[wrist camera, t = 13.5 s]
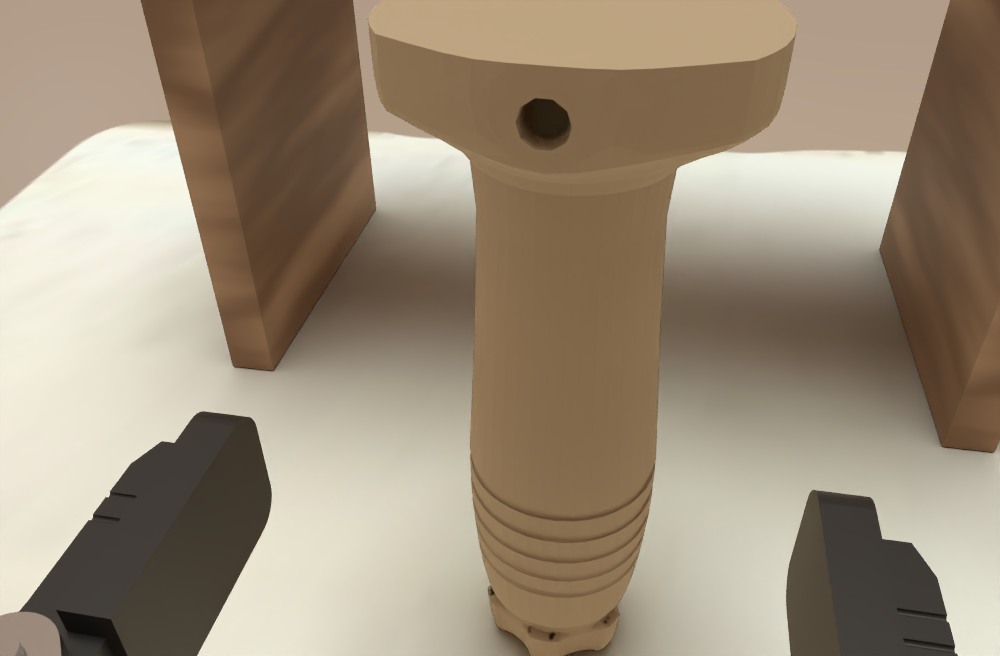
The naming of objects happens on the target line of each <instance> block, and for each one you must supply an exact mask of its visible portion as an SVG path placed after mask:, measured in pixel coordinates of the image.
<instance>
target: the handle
mask: <svg viewBox="0 0 1000 656" xmlns="http://www.w3.org/2000/svg"><path fill="white" fill-rule="evenodd" d="M368 25H369V34H370V43H371V53H372V62H373V70H374V77H375V81H376V86H377V90H378V95H379V98H380V100H381V103H382V104H383V106H384V108H385V109H386V111H388V112H390V113H392V114H394V115H395V116H397V117H399V118H401V119H403V120H404V121H406V122H408V123H410V124H411V125H413V126H415V127H417V128H418V129H420V130H422V131H424V132H426V133H429V134H431V135H433V136H435V137H437V138H439V139H441V140H443V141H444V142H446V143H448V144H449V145H451V146H453V147H455V148H456V149H458V150H460V151H461V152H463V153H464V154H465V155H466V156H467V158H468V159H469V160H470V164H471V171H472V179H473V186H474V194H475V201H476V209H477V210H476V281H475V335H474V360H473V386H472V411H471V437H470V450H471V455H470V460H471V474H472V475H471V482H472V494H473V504H474V511H475V518H476V525H477V531H478V537H479V543H480V548H481V553H482V557H483V561H484V565H485V568H486V572H487V575H488V578H489V581H490V584H491V586H489V587H488V594H489V599H490V605H491V610H492V613H493V616H494V618H495V621H496V624H497V626H498V627H499V628H501V629H502V630H506V631H508V632H510V633H512V634H514V635H515V636H517V637H518V638H519V639H520V640H521V641H522V642H523V643H524V644H525V645H526V647H527V648H528V650H529V654H530V656H565V655H567V654H570V653H573V652H576V651H582V650H596V651H598V650H601V649H603V648H604V647H605V646H606V645H607V644H608V643H609V642H610V640H611V639H612V637H613V635H614V633H615V630H616V627H617V623H618V619H619V613H618V611H617V606H618V603H619V601H620V600H621V598H622V596H623V594H624V593H625V591H626V588H627V586H628V584H629V581H630V579H631V576H632V574H633V571H634V568H635V564H636V561H637V558H638V555H639V551H640V548H641V543H642V540H643V535H644V531H645V526H646V523H647V518H648V514H649V506H650V502H651V495H652V484H653V478H654V470H655V459H656V438H657V409H658V379H659V350H660V323H661V306H662V290H663V273H664V256H665V240H666V223H667V213H668V208H669V204H670V199H671V194H672V189H673V185H674V180H675V175H676V170H677V168H679V167H680V166H682V165H685V164H687V163H690V162H693V161H695V160H698V159H700V158H703V157H707V156H710V155H713V154H716V153H720V152H723V151H726V150H728V149H730V148H732V147H735V146H737V145H739V144H741V143H743V142H745V141H746V140H748V139H750V138H751V137H753V136H754V135H756V134H758V133H759V132H761V131H762V130H764V129H765V128H767V127H768V126H769V125H770V123H771V122H772V121H773V119H774V118H775V116H776V115H777V113H778V111H779V108H780V105H781V102H782V98H783V95H784V90H785V86H786V81H787V76H788V71H789V66H790V62H791V56H792V51H793V45H794V40H795V35H796V29H797V24H796V20H795V17H794V15H793V13H792V12H791V11H790V10H789V9H788V8H787V7H786V6H785V5H783V4H782V3H780V2H778V1H777V0H381V1H380V2H379V3H378V4H377V5H376V6H375V7H374V8H373V9H372V11H371V13H370V15H369V17H368Z"/></svg>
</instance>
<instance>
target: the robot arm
mask: <svg viewBox="0 0 1000 656" xmlns="http://www.w3.org/2000/svg"><path fill="white" fill-rule="evenodd" d="M271 497H272V493H271V485H270V481H269V477H268V473H267V469H266V464H265V460H264V456H263V452H262V448H261V444H260V440H259V435H258V431H257V427H256V424H255V422H254V421H253V419H251V418H250V417H243V416H235V415H227V414H219V413H211V412H199V413H198V414H196V415H195V416H194V417H193V418H192V419H191V421H190V422H189V424H188V425H187V426H186V428H185V429H184V431H183V432H182V433H181V435H180V436H179V438H178V439H177V440H176V442H175V443H170V442H163V441H162V442H160V443H159V444H157V445H156V446H155V447H153V448H152V449H151V450H149V451H148V452H147V453H145V454H144V455H142V456H141V457H140V458H138V459H137V460H136V461H134V462H133V463H131V464H130V466H129V467H128V468H127V470H126V471H125V472H124V474H123V475H122V476H121V478H120V479H119V480H118V482H117V483H116V484H115V486H114V487H113V488H112V490H111V491H110V496H109V498H108V497H106V498H105V499H104V500H103V502H102V503H101V504H100V506H99V507H98V508H97V510H96V511H95V512H94V514H93V519H92V520H88V522H87V523H86V524H85V526H84V527H83V528H82V530H81V531H80V532H79V534H78V535H77V536H76V538H75V539H74V540H73V542H72V543H71V544H70V546H69V547H68V548H67V550H66V551H65V552H64V554H63V555H62V556H61V558H60V559H59V560H58V562H57V563H56V564H55V566H54V567H53V568H52V570H51V571H50V572H49V574H48V575H47V576H46V578H45V579H44V580H43V582H42V583H41V584H40V586H39V587H38V588H37V590H36V591H35V592H34V594H33V595H32V596H31V598H30V599H29V600H28V602H27V603H26V604H25V605H24V606H23V608H22V609H21V610H20V611H19V612H15V613H9V614H5V615H1V616H0V656H197V655H198V653H199V651H200V649H201V647H202V645H203V643H204V641H205V640H206V638H207V636H208V634H209V632H210V630H211V628H212V626H213V624H214V623H215V621H216V619H217V617H218V615H219V613H220V611H221V609H222V608H223V606H224V604H225V602H226V600H227V598H228V596H229V594H230V592H231V591H232V589H233V587H234V585H235V583H236V581H237V579H238V577H239V575H240V574H241V572H242V570H243V568H244V566H245V564H246V562H247V560H248V559H249V557H250V555H251V553H252V551H253V549H254V547H255V545H256V543H257V542H258V540H259V538H260V536H261V534H262V532H263V530H264V528H265V526H266V523H267V520H268V517H269V513H270V508H271ZM786 606H787V618H788V630H789V641H790V652H791V656H958V655H957V654H955V651H954V648H955V644H954V640H953V636H952V632H951V629H950V625H949V622H947V621H946V617H947V613H946V610H945V606H944V602H943V598H942V594H941V591H940V587H939V583H938V579H937V577H936V576H935V574H934V573H933V572H932V570H931V569H930V567H929V566H928V565H927V563H926V562H925V561H924V559H923V558H922V557H921V555H920V554H919V552H918V551H917V550H916V548H915V547H914V546H913V544H912V543H908V542H900V541H893V540H885V539H882V536H881V531H880V526H879V522H878V517H877V512H876V508H875V504H874V502H873V500H872V499H871V498H870V497H864V496H856V495H848V494H840V493H832V492H824V491H816V490H812V491H811V493H810V495H809V497H808V500H807V503H806V507H805V510H804V514H803V518H802V521H801V525H800V528H799V532H798V535H797V539H796V542H795V546H794V549H793V553H792V556H791V560H790V564H789V569H788V577H787V589H786Z"/></svg>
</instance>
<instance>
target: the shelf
mask: <svg viewBox="0 0 1000 656" xmlns="http://www.w3.org/2000/svg"><path fill="white" fill-rule="evenodd" d="M141 3H142V7H143V11H144V15H145V19H146V23H147V27H148V31H149V35H150V39H151V43H152V47H153V51H154V55H155V59H156V63H157V67H158V71H159V75H160V79H161V82H162V87H163V91H164V95H165V98H166V102H167V106H168V110H169V114H170V118H171V122H172V126H173V130H174V134H175V138H176V142H177V146H178V150H179V154H180V158H181V162H182V166H183V170H184V174H185V178H186V182H187V186H188V190H189V194H190V198H191V201H192V205H193V209H194V213H195V217H196V221H197V225H198V229H199V233H200V237H201V241H202V245H203V249H204V253H205V257H206V261H207V265H208V269H209V273H210V277H211V281H212V285H213V289H214V293H215V296H216V300H217V304H218V308H219V312H220V316H221V320H222V324H223V328H224V332H225V336H226V340H227V344H228V348H229V352H230V356H231V360H232V364H233V366H236V367H245V368H254V369H262V370H271V371H273V370H274V369H275V367H276V365H277V364H278V362H279V361H280V359H281V358H282V356H283V354H284V353H285V351H286V350H287V348H288V347H289V345H290V343H291V342H292V340H293V339H294V337H295V335H296V334H297V332H298V331H299V329H300V328H301V326H302V324H303V323H304V321H305V320H306V318H307V317H308V315H309V313H310V312H311V310H312V309H313V307H314V306H315V304H316V302H317V301H318V299H319V298H320V296H321V295H322V293H323V291H324V290H325V288H326V287H327V285H328V284H329V282H330V280H331V279H332V277H333V276H334V274H335V273H336V271H337V269H338V268H339V266H340V265H341V263H342V262H343V260H344V258H345V257H346V255H347V254H348V252H349V251H350V249H351V247H352V246H353V244H354V243H355V241H356V240H357V238H358V236H359V235H360V233H361V232H362V230H363V229H364V227H365V225H366V224H367V222H368V221H369V219H370V218H371V216H372V214H373V213H374V211H375V210H376V203H375V194H374V185H373V176H372V167H371V158H370V149H369V140H368V131H367V122H366V114H365V104H364V96H363V87H362V78H361V69H360V60H359V51H358V42H357V33H356V24H355V15H354V6H353V0H141ZM880 252H881V255H882V258H883V261H884V265H885V268H886V271H887V274H888V277H889V280H890V283H891V287H892V290H893V293H894V296H895V299H896V302H897V306H898V309H899V312H900V315H901V318H902V321H903V324H904V328H905V331H906V334H907V337H908V340H909V343H910V347H911V350H912V353H913V356H914V359H915V362H916V365H917V369H918V372H919V375H920V378H921V381H922V384H923V388H924V391H925V394H926V397H927V400H928V403H929V407H930V410H931V413H932V416H933V419H934V422H935V425H936V429H937V432H938V435H939V438H940V441H941V444H942V446H943V447H951V448H960V449H969V450H978V451H987V452H995V450H996V447H997V445H998V443H999V441H1000V0H950V3H949V7H948V10H947V13H946V17H945V20H944V24H943V27H942V31H941V34H940V38H939V41H938V45H937V48H936V52H935V55H934V59H933V63H932V66H931V69H930V73H929V77H928V80H927V84H926V87H925V91H924V94H923V98H922V101H921V105H920V108H919V112H918V115H917V119H916V122H915V126H914V129H913V133H912V136H911V140H910V143H909V147H908V150H907V154H906V157H905V161H904V164H903V168H902V171H901V175H900V179H899V182H898V186H897V189H896V193H895V196H894V200H893V203H892V207H891V210H890V214H889V217H888V221H887V224H886V228H885V231H884V235H883V238H882V242H881V245H880Z"/></svg>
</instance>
